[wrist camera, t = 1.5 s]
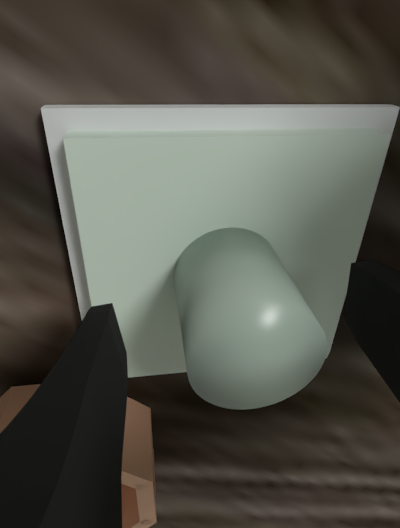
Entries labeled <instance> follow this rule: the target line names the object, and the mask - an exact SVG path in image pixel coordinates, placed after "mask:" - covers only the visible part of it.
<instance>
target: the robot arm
mask: <svg viewBox="0 0 400 528" xmlns="http://www.w3.org/2000/svg"><path fill="white" fill-rule="evenodd" d="M344 317H345V319H346V321H347V323H348V325H349V327H350V329H351V331H352V333H353V335H354V336H355V338H356V340H357V342H358V344H359V345H360V347H361V348H362V350H363V351H364V352H365V354H366V355H367V357H368V358H369V360H370V361H371V363H372V364H373V365H374V367H375V368H376V370H377V371H378V372H379V374H380V375H381V377H382V378H383V379H384V381H385V382H386V384H387V385H388V386H389V388H390V389H391V391H392V392H393V394H394V395H395V396H396V398H397V399H398V401H399V402H400V273H399V272H397V271H395V270H393V269H390V268H388V267H386V266H384V265H382V264H379V263H377V262H375V261H372V260H367V261H361V262H355V263H351V267H350V274H349V281H348V288H347V295H346V302H345V309H344ZM127 393H128V368H127V352H126V349H125V345H124V342H123V338H122V335H121V331H120V328H119V324H118V321H117V318H116V314H115V311H114V307H113V304H112V303H110V304H104V305H98V306H92V307H91V308H90V309H89V310H88V312H87V313H86V315H85V317H84V319H83V320H82V322H81V324H80V325H79V327H78V329H77V331H76V332H75V334H74V335H73V337H72V339H71V340H70V342H69V344H68V345H67V347H66V348H65V350H64V351H63V353H62V354H61V356H60V358H59V359H58V361H57V362H56V364H55V365H54V367H53V368H52V369H51V371H50V372H49V374H48V375H47V376H46V378H45V379H44V380H43V382H42V383H41V385H40V386H39V387H38V389H37V390H36V391H35V393H34V394H33V395H32V397H31V398H30V399H29V400H28V402H27V403H26V404H25V405H24V407H23V408H22V409H21V410H20V411H19V413H18V414H17V415H16V416H15V417H14V418H13V420H12V421H11V422H10V423H9V424H8V425H7V427H6V428H5V429H4V430H3V431H2V432H1V433H0V528H122V483H121V475H122V455H123V443H124V431H125V419H126V406H127Z"/></svg>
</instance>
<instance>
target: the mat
mask: <svg viewBox="0 0 400 528" xmlns="http://www.w3.org/2000/svg"><path fill="white" fill-rule="evenodd" d="M399 109H400V107H398V106H395V105H391V104H260V105H44V106H43V107H42V108H41V113H42V118H43V123H44V128H45V133H46V139H47V144H48V149H49V154H50V159H51V164H52V170H53V175H54V180H55V185H56V190H57V196H58V201H59V206H60V211H61V216H62V222H63V227H64V232H65V237H66V242H67V248H68V253H69V258H70V263H71V268H72V273H73V279H74V284H75V289H76V294H77V299H78V305H79V310H80V315H81V320H83V319H84V317H85V315H86V313H87V312H88V310H89V309H90V308H91V301H90V295H89V289H88V283H87V277H86V271H85V265H84V259H83V254H82V248H81V242H80V236H79V230H78V224H77V218H76V212H75V206H74V201H73V195H72V189H71V183H70V177H69V171H68V165H67V159H66V153H65V148H64V142H63V138H64V136H65V135H66V133H67V132H68V131H140V130H232V129H325V128H377V129H380V130H382V131H384V132H387V133H389V134H391V135H390V139H389V142H388V146H387V149H386V153H385V156H384V160H383V163H382V167H381V170H380V174H379V177H378V181H377V184H376V188H375V191H374V195H373V198H372V202H371V205H370V209H369V213H368V216H367V220H366V223H365V227H366V224H367V221H368V217H369V214H370V210H371V207H372V203H373V200H374V196H375V193H376V189H377V186H378V182H379V179H380V175H381V172H382V168H383V165H384V161H385V158H386V154H387V151H388V147H389V144H390V140H391V137H392V133H393V130H394V126H395V123H396V119H397V116H398V112H399ZM365 227H364V230H363V234H364V231H365ZM363 234H362V237H361V241H362V238H363ZM361 241H360V244H359V248H360V245H361ZM359 248H358V251H357V255H358V252H359ZM357 255H356V258H355V262H356V259H357ZM355 262H354V263H355ZM347 288H348V286H347ZM346 294H347V290H346V293H345V297H346ZM345 297H344V300H343V304H344V301H345ZM343 304H342V307H341V311H342V308H343ZM341 311H340V315H341ZM340 315H339V318H340ZM339 318H338V322H339ZM338 322H337V325H338ZM337 325H336V329H337ZM336 329H335V332H336ZM335 332H334V336H335ZM334 336H333V339H334ZM333 339H332V343H333ZM332 343H331V346H332ZM331 346H330V350H331ZM330 350H329V353H330ZM329 353H328V354H329Z"/></svg>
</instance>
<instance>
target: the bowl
mask: <svg viewBox="0 0 400 528" xmlns="http://www.w3.org/2000/svg"><path fill="white" fill-rule="evenodd" d="M40 385H41V384H35V385H24V386H14V387H11V388H10V389H9V390H8V391H7V392H5V393H4V394H3V395H2V396H1V397H0V433H1V432H2V431H3V430H4V429H5V428H6V427H7V425H8V424H9V423H10V422H11V421H12V420H13V418H14V417H15V416H16V415H17V414H18V413H19V411H20V410H21V409H22V408H23V407H24V405H25V404H26V403H27V402H28V400H29V399H30V398H31V397H32V395H33V394H34V393H35V391H36V390H37V389H38V387H39V386H40ZM121 483H122V528H149V527H150V526H152V525H153V524H155V523H156V522H157V520H156V494H155V469H154V449H153V437H152V424H151V408H149V407H147V406H145V405H143V404H141V403H139V402H137V401H135V400H133V399H131V398H129V397H127V406H126V419H125V431H124V443H123V455H122V475H121Z"/></svg>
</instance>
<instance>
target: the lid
mask: <svg viewBox="0 0 400 528" xmlns="http://www.w3.org/2000/svg"><path fill="white" fill-rule="evenodd" d="M390 135H391V134H389V133H387V132H384V131H382V130H380V129H377V128H325V129H232V130H140V131H68V132H67V133H66V135H65V136H64V138H63V142H64V148H65V153H66V159H67V165H68V171H69V177H70V183H71V189H72V195H73V201H74V206H75V212H76V218H77V224H78V230H79V236H80V242H81V248H82V254H83V259H84V265H85V271H86V277H87V283H88V289H89V295H90V301H91V307H92V306H98V305H104V304H110V303H112V304H113V307H114V311H115V314H116V318H117V321H118V324H119V328H120V331H121V335H122V338H123V342H124V345H125V349H126V352H127V368H128V378H129V377H140V376H150V375H161V374H171V373H182V372H187V376H188V380H189V383H190V385H191V387H192V388H193V390H194V391H195V392H196V394H198V395H199V396H200V397H201V398H202V399H204V400H205V401H207V402H209V403H211V404H213V405H216V406H219V407H223V408H228V409H242V410H243V409H254V408H261V407H265V406H269V405H272V404H275V403H278V402H280V401H282V400H285V399H287V398H289V397H290V396H292V395H294V394H295V393H297V392H299V391H300V390H301V389H303V388H304V387H305V386H306V385H307V384H308V383H310V382H311V381H312V379H313V378H314V377H315V376H316V375H317V373H318V372H319V371H320V369H321V367H322V365H323V363H324V361H325V359H327V357H328V353H329V350H330V346H331V343H332V339H333V336H334V332H335V329H336V325H337V322H338V318H339V315H340V311H341V307H342V304H343V300H344V297H345V293H346V290H347V286H348V281H349V274H350V267H351V263H354V262H355V258H356V255H357V251H358V248H359V244H360V241H361V237H362V234H363V230H364V227H365V223H366V220H367V216H368V213H369V209H370V205H371V202H372V198H373V195H374V191H375V188H376V184H377V181H378V177H379V174H380V170H381V167H382V163H383V160H384V156H385V153H386V149H387V146H388V142H389V139H390Z"/></svg>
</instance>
